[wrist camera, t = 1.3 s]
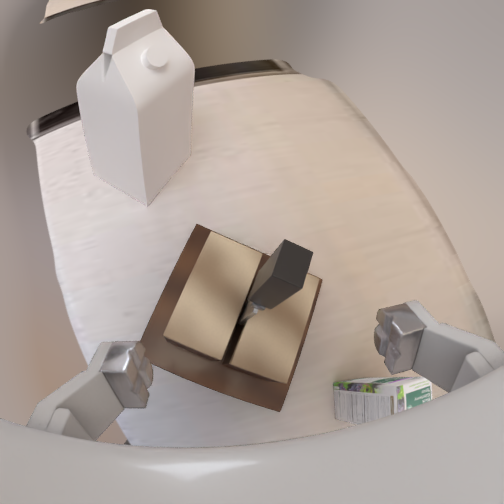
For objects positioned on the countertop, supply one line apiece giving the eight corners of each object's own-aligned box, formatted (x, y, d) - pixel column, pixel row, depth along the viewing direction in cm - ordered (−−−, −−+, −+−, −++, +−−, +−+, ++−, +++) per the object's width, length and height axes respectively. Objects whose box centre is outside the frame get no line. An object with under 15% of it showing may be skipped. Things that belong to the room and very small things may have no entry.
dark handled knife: (248, 328, 32) (300, 297, 18) (230, 320, 32) (268, 284, 18) (260, 295, 33) (315, 244, 20) (242, 288, 33) (287, 231, 20)
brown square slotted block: (278, 411, 35) (300, 420, 28) (135, 355, 34) (123, 352, 27) (319, 281, 44) (346, 263, 37) (196, 226, 42) (200, 197, 35)
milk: (138, 129, 47) (134, -3, 23) (190, 155, 47) (210, 12, 23) (93, 175, 42) (56, 35, 18) (147, 207, 42) (132, 51, 18)
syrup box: (364, 376, 40) (432, 372, 26) (366, 412, 37) (433, 420, 24) (332, 382, 38) (396, 383, 25) (334, 420, 36) (397, 435, 23)
